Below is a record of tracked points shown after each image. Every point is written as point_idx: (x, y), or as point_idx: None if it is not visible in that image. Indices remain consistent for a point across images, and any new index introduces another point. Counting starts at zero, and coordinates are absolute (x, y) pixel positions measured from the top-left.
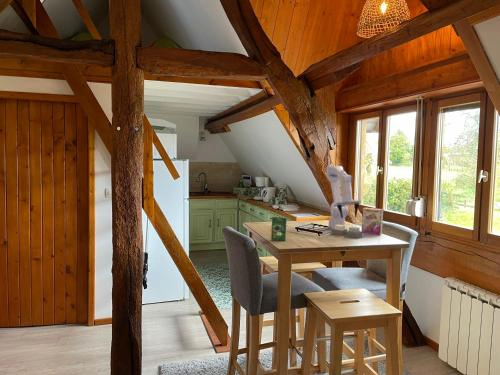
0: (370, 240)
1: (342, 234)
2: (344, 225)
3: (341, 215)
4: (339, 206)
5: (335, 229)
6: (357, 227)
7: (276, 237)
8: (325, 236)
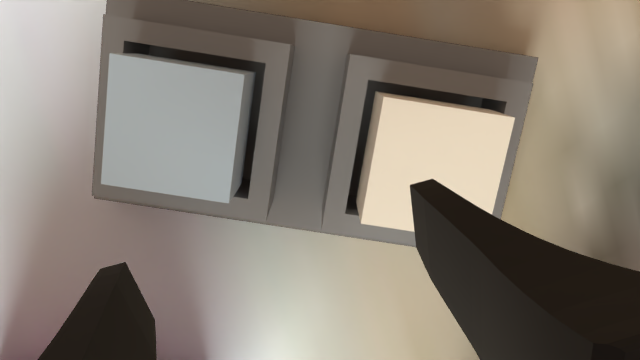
0: (29, 165)
1: (346, 61)
2: (366, 215)
3: (446, 193)
4: (638, 307)
5: (476, 107)
6: (129, 165)
7: None
8: (571, 67)
